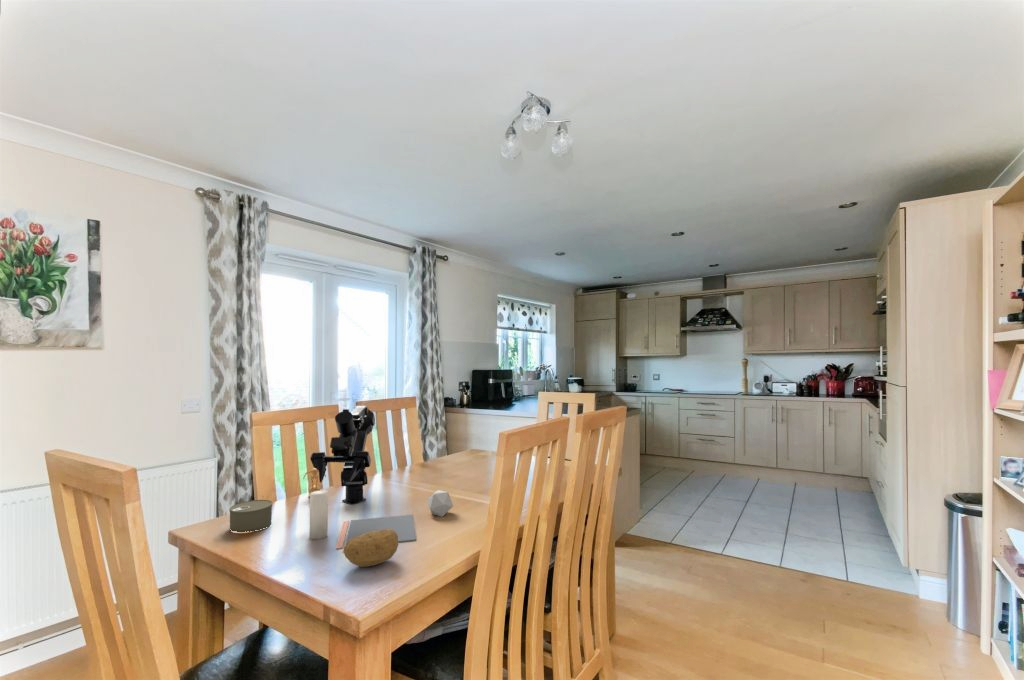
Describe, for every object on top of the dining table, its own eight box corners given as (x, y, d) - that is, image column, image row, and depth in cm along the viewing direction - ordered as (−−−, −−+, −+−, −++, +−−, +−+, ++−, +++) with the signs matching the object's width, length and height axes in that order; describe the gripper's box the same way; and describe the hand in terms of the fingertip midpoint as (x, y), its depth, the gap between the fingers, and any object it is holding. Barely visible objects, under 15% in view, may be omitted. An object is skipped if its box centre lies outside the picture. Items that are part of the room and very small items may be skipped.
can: (279, 525, 145) (279, 503, 145) (240, 537, 135) (240, 514, 135) (260, 518, 152) (261, 497, 152) (221, 529, 142) (222, 507, 142)
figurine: (325, 492, 180) (326, 462, 180) (325, 497, 174) (326, 466, 174) (303, 494, 177) (304, 464, 177) (301, 499, 171) (302, 468, 171)
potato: (339, 564, 117) (339, 533, 118) (392, 551, 125) (392, 522, 125) (348, 579, 109) (348, 546, 109) (403, 564, 117) (404, 533, 117)
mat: (344, 548, 127) (344, 546, 127) (351, 521, 148) (351, 520, 148) (416, 540, 132) (416, 539, 132) (412, 515, 153) (412, 514, 153)
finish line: (342, 548, 127) (342, 547, 127) (336, 549, 126) (336, 548, 126) (348, 521, 148) (348, 520, 148) (343, 522, 147) (343, 521, 147)
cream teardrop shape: (306, 536, 135) (306, 493, 136) (321, 531, 139) (322, 489, 140) (315, 540, 132) (316, 496, 133) (330, 535, 136) (331, 492, 137)
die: (457, 515, 155) (453, 488, 161) (447, 510, 148) (443, 482, 154) (436, 523, 156) (432, 496, 162) (425, 518, 149) (422, 490, 155)
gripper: (313, 428, 151) (298, 467, 139) (369, 427, 152) (360, 466, 140) (320, 448, 158) (307, 487, 146) (374, 447, 159) (365, 486, 147)
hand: (335, 481), depth 145 cm, fingers open, 9 cm apart
